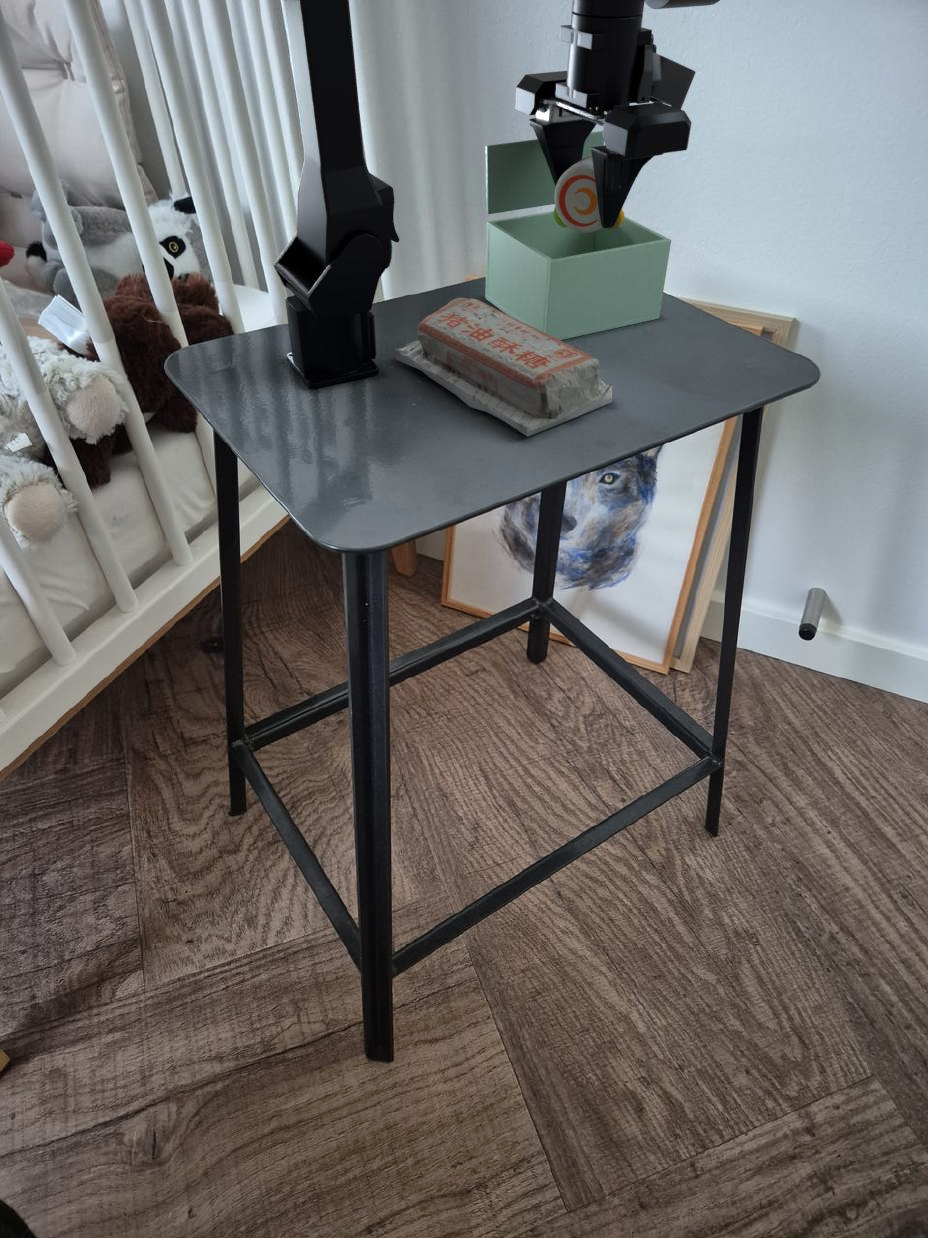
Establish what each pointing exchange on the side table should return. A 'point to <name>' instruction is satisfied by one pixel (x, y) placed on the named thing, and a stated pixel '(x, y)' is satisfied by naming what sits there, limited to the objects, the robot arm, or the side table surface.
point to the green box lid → (523, 174)
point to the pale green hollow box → (575, 274)
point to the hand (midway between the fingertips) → (587, 216)
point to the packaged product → (506, 366)
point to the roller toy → (579, 199)
